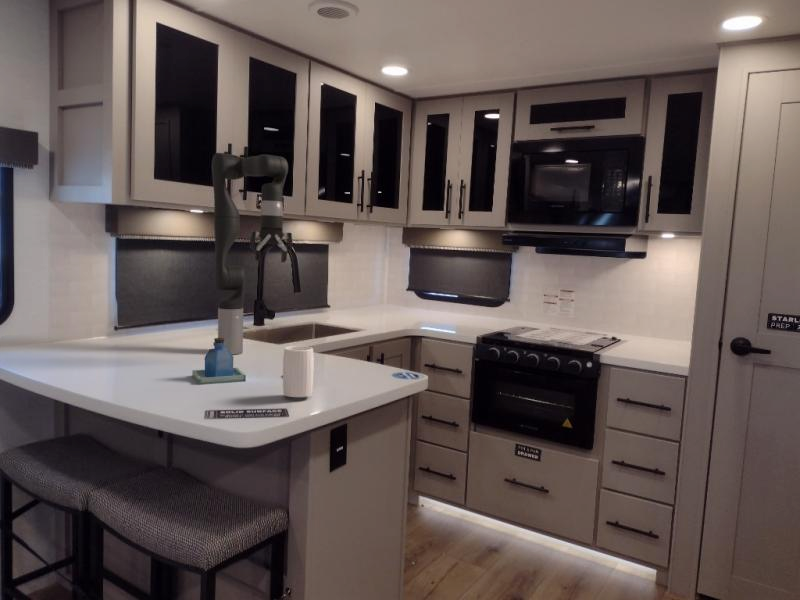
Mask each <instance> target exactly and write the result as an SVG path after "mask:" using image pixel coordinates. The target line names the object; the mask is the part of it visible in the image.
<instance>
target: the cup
mask: <svg viewBox="0 0 800 600" xmlns="http://www.w3.org/2000/svg"><path fill="white" fill-rule="evenodd" d="M283 349H284V350H283V357H282V390H283V395H284V396H285V397H286V396H287V397H290V398H305V397H310V396H311V395H313V388H314V387H313V386H314V371H315V370H314V367H315V366H314V363H315V362H314V361H315V360H314V348H313V347H311V346H307V345H289V346H286V347H284V348H283Z"/></svg>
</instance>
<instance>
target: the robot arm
mask: <svg viewBox="0 0 800 600" xmlns="http://www.w3.org/2000/svg"><path fill="white" fill-rule="evenodd" d="M288 173H289V163H288V161H287V159H286V158H285V157H283V156H279V155H272V154H271V155H270V154H265V153H264V154H259V155H252V156H248V157H246V158H244V157H241V156H239V155H236V154H232V153H231V154H229V153H223V152H216V153H214V155H213V156H212V159H211V175H212V176H211V177H212V187H213V198H214V199H213V202H214V203H213V204H214V207H213V208H214V210H213V211H214V214H213V216H214V218H213V221H214V222H213V223H214V226H213V227H214V251H215V253H214V266H213V267H214V268H213V269H214V270H213V271H214V272H213V281H214V282H213V283H214V287H215V289H216V290H218V291H233V292H232V293H231V294H230V295H229V296H227V297H225V298H222V299H220V300H219V301H218V302H217V305H218V306H217V308H218V310H217V338H225V339H224V342H225V346H224V348H225V349H228V350H229V351H230V353H231V354H232V356H233V355H240V354H243V351H244V350H243V349H244V302H245V285H246V272H245V269H244V268H243V266H241V265H240V266H239V265H226V258H227V256H228V254H229V253H228V252H229V250H230V249H231V247H232V246H233V244H234V243H235V241H236V239H237V238H238V236H239V234H240V229H241V225H240V224H241V221H240V212H239V210H238V207H237V205H236V204H235V202H234V201H233V199H232V197H231V195H230V194H229V191H228V188H227V181H226V180H233V181H235V180H240V179H243V178H245V177H264V176H265V177H273V178H272V179H273V180H272V182H268V183H264V184H262V186H261V199H260V200H261V202H260V211H259V212H260V216H259V217H260V220H259V221H260V222H259V225H260V227H259V231H254V230H251V231H250V236H249V249H251V250H253V251H254V254H255V255H254V260H255V261H256V262H257V263H260V262H261V257H262V256H261V249H262V248H263V247H264V246H265V245H277V246H278V247H279V248H280V250H281V252H280V253H281V254H280V255H281V257H280V262H281V263H285V262H286V261H287V259H288V258H287V257H288V256H287V255H288V252H289V251H291V250H293V234H292V232H284V230H283V224H284V223H283V219H284V207H283V191H284V186H285V182H286V178H287V175H288ZM258 236H259V238H260V240H259V242H258V243H257V244H256V239H257V238H258ZM283 238H284V239H285V240H286V246H285V244H284V242H283V241H282V239H283Z"/></svg>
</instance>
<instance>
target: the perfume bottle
mask: <svg viewBox="0 0 800 600" xmlns="http://www.w3.org/2000/svg"><path fill="white" fill-rule="evenodd" d="M224 339H225V338H218V337H215V338H214V342H213V347H214V348H210V349H208V351H207V353H206V354H205V356H204V370H205V377H222V376H233V368H234V356H233V355H232V354H231V353H230V351H229V350H228V349H225V348H224V346H225V342H224Z"/></svg>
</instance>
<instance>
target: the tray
mask: <svg viewBox="0 0 800 600" xmlns="http://www.w3.org/2000/svg"><path fill="white" fill-rule="evenodd" d="M191 376H192V377H193V379H194V380H195V382H196V384H198V385H199V386H200V385H210V384H211V385H213V384H224V383H238V382H240V383H241V382H247V381H246V380H247V379H246V378H247V377H246V374H245V373H244V372H243V371H241V369H239V368H238V367H233V376H222V377H205V369H194V370H192V375H191Z"/></svg>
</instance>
